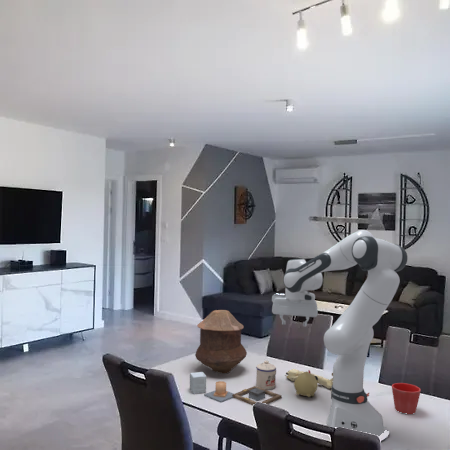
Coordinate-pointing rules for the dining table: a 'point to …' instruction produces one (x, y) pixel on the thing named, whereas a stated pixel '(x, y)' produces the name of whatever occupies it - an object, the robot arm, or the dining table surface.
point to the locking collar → (247, 400)
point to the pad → (219, 399)
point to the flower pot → (405, 397)
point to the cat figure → (322, 381)
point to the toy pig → (306, 384)
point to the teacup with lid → (265, 375)
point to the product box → (197, 382)
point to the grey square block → (257, 394)
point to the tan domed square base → (220, 389)
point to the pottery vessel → (220, 342)
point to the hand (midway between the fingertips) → (294, 325)
